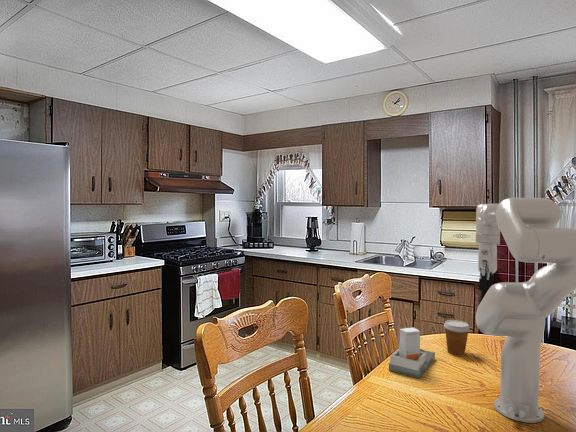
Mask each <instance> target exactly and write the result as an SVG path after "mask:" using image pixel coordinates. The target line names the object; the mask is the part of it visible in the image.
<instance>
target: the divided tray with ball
mask: <svg viewBox="0 0 576 432" xmlns="http://www.w3.org/2000/svg"><path fill="white" fill-rule="evenodd" d="M389 358H390V359H389V363H388V371H389V372H394V373H397V374H402V375H406V376H409V377H413V378H416V379H421V378H422V377H423V375H424V374H425V373H426V371H427V370H428V369H429V367H430V366H431V365H432V363H433V362H434V360H435V358H436V352H434V351H429V350H424V349H421V348H420V354H419V359H418V360H417V361H416V360H412V359H408V358H403V357H399V347H397V349H396V350H394V352H393V353H392V354H390V357H389Z"/></svg>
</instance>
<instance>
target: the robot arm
mask: <svg viewBox="0 0 576 432" xmlns="http://www.w3.org/2000/svg"><path fill="white" fill-rule="evenodd" d="M475 211H476V213H475V214H476V215H475V244H476V245H477V244H478V259H477V260H478V261H477V264H478V265H477V269H478V272H479V278H478V290H479V292H480V291H481V292H486V293H485V294H484V296H483V298H482V300H481V301H480V303H479V304H478V306H477V309H476V313H475V324H476V327H477V328H478V330H479V331H480V332H481V333H482V334H484V335H487V336H493V337H506V339H505V340H504V342H503V344H502V346H501V353H500V355H501V356H500V357H501V358H500V362H501V363H500V391H499V393H500V394H499V397H497V398H496V399H494V401H493V406H494V409H495V411H497V412H498V413H499V414H500V415H502V416H505V417H506V418H509V419H511V420H513V421H517V422H522V423H528V424H535V423H540V422H542V421H544V419H545V411H544V410H543V409H542V408H541V407H540V406H539V395H540V394H539V391H540V390H539V389H540V365H541V364H540V362H541V345H542V341H543V340H542V339H543V336H544V332H545V328H546V327H545V326H546V318H547V317H549V316H551V314H552V313H554V311H555V310H556V309H557V308H558V307H559V306H560V305H561V304H562V303H563V302H564V301H565V300H566V298H567V297H568V296H570V294H572V292H574V291H575V290H576V228H567V227H554V226H555V225H557V224H558V223H559V221H560V220H561V218H562V210H561V207H560V206H559V205H558V203H556V202H555V201H554V200H551V199H549V198H545V197H508V198H505V199H502V200H501V201H500V202H499V203H480V204H478V205H477V206H476V209H475ZM501 235H502V237H503V240H504V241H505V243H506V246H507V248H508V250H509V252H510V254H511V255H512V257H513V258H514V259H515V260H517V261H518V262H522V263H527V264H529V263H530V264H533V263H534V264H547V265H545V266H543V267H541V268H539V269H538V270H537V271H535V272H534V273H533V275H532V276H531V277H530V279H528V280H527V281H522V282H510V281H509V282H508V281H507V282H506V281H504V282H497V283H494V278H495V277H494V274H495V273H496V272H497V271H498V247H497V245H500V244H501V243H500V242H501V239H500V238H501Z"/></svg>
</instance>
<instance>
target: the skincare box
mask: <svg viewBox="0 0 576 432" xmlns="http://www.w3.org/2000/svg"><path fill="white" fill-rule="evenodd" d="M420 346H421V331H420V330H419V329H417V328H416V327H404V328H399V344H398V348H399V357H403V358H408V359H412V360H416V361H417V360H418V359H419V354H420V349H421V347H420Z"/></svg>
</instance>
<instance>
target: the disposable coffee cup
mask: <svg viewBox="0 0 576 432" xmlns="http://www.w3.org/2000/svg"><path fill="white" fill-rule="evenodd" d="M444 322H445V323H444V324H443V327H444V332H445V339H446V340H445V341H446V350H447V353H448V354H449V355H452V356H455V357H462V356H463V357H464V356H465V355H466V354H465V353H466V348H467V342H468V336H469V331H470V326H469V324H468V322H466V321H463V320H456V319H455V320H454V319H449V320H446V321H444Z"/></svg>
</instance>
